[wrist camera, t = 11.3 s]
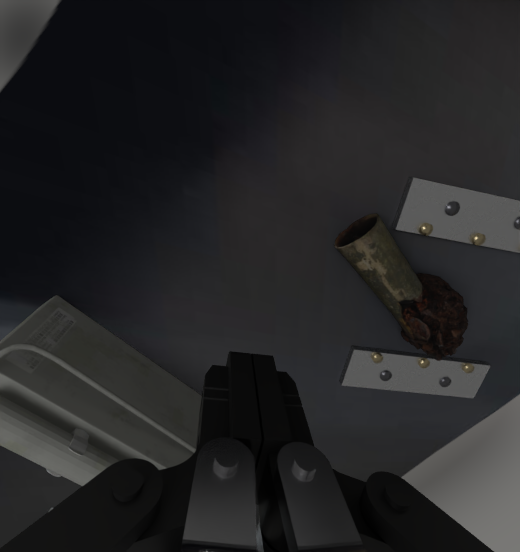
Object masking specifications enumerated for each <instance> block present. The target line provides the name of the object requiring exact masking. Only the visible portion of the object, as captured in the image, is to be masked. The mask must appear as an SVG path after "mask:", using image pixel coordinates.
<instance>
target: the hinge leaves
mask: <svg viewBox="0 0 520 552" xmlns="http://www.w3.org/2000/svg"><path fill="white" fill-rule="evenodd" d="M392 228H393V229H396V230H401V231H406V232H411V233H417V234H422V235H425V236H433V237H438V238H443V239H449V240H454V241H459V242H465V243H470V244H475V245H478V246H479V245H480V246H486V247H491V248H496V249H502V250H507V251H512V252H518V253H520V201H518V200H513V199H509V198H504V197H500V196H495V195H490V194H486V193H481V192H477V191H472V190H468V189H463V188H458V187H454V186H449V185H445V184H440V183H436V182H431V181H427V180H422V179H417V178H413V177H409V179H408V182H407V184H406V187H405V190H404V193H403V196H402V199H401V202H400V205H399V208H398V211H397V214H396V217H395V220H394V223H393V225H392ZM489 368H490V365H489V364H488V363H487V362H483V361H475V360H467V359H458V358H450V357H442V359H441V361H437V360H435V359H434V358H431V357H428V355H425V354H417V353H408V352H400V351H392V350H383V349H375V348H367V347H358V346H351V348H350V351H349V354H348V357H347V360H346V363H345V366H344V369H343V372H342V375H341V378H340V383H341V385H343V386H353V387H363V388H374V389H384V390H394V391H404V392H415V393H425V394H435V395H445V396H455V397H466V398H474V397H475V395H476V393H477V391H478V389H479V387H480V385H481V383H482V381H483V379H484V378H485V376H486V374H487V372H488V370H489Z"/></svg>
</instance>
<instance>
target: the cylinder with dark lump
mask: <svg viewBox="0 0 520 552" xmlns="http://www.w3.org/2000/svg"><path fill="white" fill-rule="evenodd" d="M334 246H335V248H336V249H338V251H339V252H340V253H341V254H342V255H343V256H344V257H345V258H346V259H347V261H348V262H349V263H350V264H351V265H352V267H353V268H354V269H355V270H356V271H357V272H358V274H359V275H360V276H361V277H362V278H363V279H364V281H365V282H366V283H367V284H368V285H369V287H370V288H371V289H372V290H373V291H374V293H375V294H376V295H377V296H378V297H379V299H380V300H381V301H382V302H383V304H384V305H385V306H386V307H387V308H388V310H389V311H390V312H391V313H392V315H393V316H394V317H395V319H396V320H397V321H398V323H399V324H400V325H401V328H402V331H401V335H402V337H403V339H405V340H406V341H407V342H410V343H411V344H412V345H414V346H415V347H416V348H417V349H420V348H421V349H422V350H423V351H424V352H426V353H427V355H428V357H431V358H434V359H435V360H437V361H441V359H442V357H445V355H449V354H450V355H452V354H455V353H456V348H457V347H458V346H460V345H461V344H462V342H463V339H464V338H463V337H462V335H463V334H464V332H465V330H466V329H467V326H468V323H467V322H468V320H467V308H466V307H465V306H464V305H463V297H462V296H461V295H460V294H459V293H458V292H456V291H455V290H454V289H452V288H451V287H450V286H449V284H448V283H446V282H445V281H444V280H442V279H441V278H440V277H437V276H433V275H429V274H422V273H420V274H415V273H414V271H413V269H412V268H411V266H410V265H409V263H408V261H407V260H406V258H405V257H404V255H403V254H402V252H401V251H400V249H399V248H398V246H397V244H396V243H395V241H394V239H393V237H392V236H391V234H390V232H389V231H388V229H387V228H386V226H385V225H384V223H383V221H382V220H381V218H380V217H379V215H378V214H370V215H367V216H365V217H363V218H361V219H359V220H357V221H355V222H354V223H352V224H351V225H350V226H349V227H348V228H347V229H346V230H344V231H343V232H342V233H340V234H339V236H338V237H337V238H336V240H335V245H334Z"/></svg>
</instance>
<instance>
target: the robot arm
mask: <svg viewBox="0 0 520 552" xmlns="http://www.w3.org/2000/svg"><path fill="white" fill-rule="evenodd" d="M256 504H257V505H259V516H260V519H259V522H258V526H257V530H256ZM256 540H257V547H258V552H494V551H492V550H491V549H490V548H489V547H487V546H486V545H485V544H484V543H482V542H481V541H480V540H479V539H477V538H476V537H475V536H474V535H472V534H471V533H470V532H469V531H467V530H466V529H465V528H464V527H462V526H461V525H460V524H459V523H457V522H456V521H455V520H454V519H452V518H451V517H450V516H449V515H448V514H446V513H445V512H444V511H442V510H441V509H440V508H438V507H437V506H436V505H435V504H434V503H433V502H431V501H430V500H429V499H428V498H426V497H425V496H424V495H423V494H421V493H420V492H419V491H418V490H416V489H415V488H414V487H413V486H411V485H410V484H409V483H408V482H406V481H405V480H404V479H402V478H400V477H399V476H397V475H394V474H392V473H389V472H375V473H373V474H372V475H371V476H370V477H369V478H368V480H367V482H363V481H361V480H358V479H355V478H352V477H350V476H347V475H344V474H342V473H339V472H337V471H336V470H334V469H332V467H331V465H330V463H329V461H328V459H327V458H326V456H325V455H324V454H323V453H322V452H321V451H319V450H318V449H317V448H315V447H314V444H313V440H312V437H311V434H310V430H309V427H308V424H307V420H306V417H305V414H304V410H303V407H302V404H301V400H300V397H299V393H298V390H297V387H296V383H295V382H294V381H293V379H292V378H291V377H290V376H289V375H288V373H287V372H279V371H277V370H276V366H275V362H274V358H273V356H269V355H260V354H250V353H240V352H231V351H230V352H229V354H228V359H227V364H226V366H217V365H212V367H211V368H210V369H209V371H208V372H207V373H206V375H205V380H204V386H203V393H202V399H201V405H200V411H199V421H198V432H197V442H196V451H195V452H194V454H193V455H192V456H191V457H190V458H189V459H187V460H186V461H184V462H183V463H181V464H179V465H176V466H173V467H169V468H166V469H162V470H158V468H157V467H156V466H155V465H154V464H152V463H151V462H149V461H147V460H144V459H138V458H130V459H124V460H121V461H118V462H116V463H114V464H112V465H110V466H109V467H107V468H106V469H105V470H103V471H102V472H101V473H99V474H98V475H97V476H95V477H94V478H93V479H91V480H90V481H89V482H87V483H86V484H85V485H84V486H82V487H81V488H80V489H78V490H77V491H76V492H74V493H73V494H72V495H70V496H69V497H68V498H66V499H65V500H64V501H62V502H61V503H60V504H58V505H57V506H56V507H54V508H53V509H52V510H50V511H49V512H48V513H46V514H45V515H44V516H43V517H41V518H40V519H39V520H37V521H36V522H35V523H33V524H32V525H31V526H29V527H28V528H27V529H25V530H24V531H23V532H21V533H20V534H19V535H17V536H16V537H15V538H13V539H12V540H11V541H9V542H8V543H7V544H5V545H4V546H3V547H2V548H0V552H256Z"/></svg>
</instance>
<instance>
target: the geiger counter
mask: <svg viewBox="0 0 520 552" xmlns="http://www.w3.org/2000/svg"><path fill="white" fill-rule="evenodd" d="M201 399H202V396H201V395H200V394H198V393H197V392H196V391H194V390H193V389H191V388H190V387H188V386H187V385H185V384H184V383H183V382H181V381H180V380H178V379H177V378H175V377H174V376H173V375H171V374H170V373H168V372H167V371H165V370H164V369H163V368H161V367H160V366H158V365H157V364H155V363H154V362H152V361H151V360H150V359H148V358H147V357H145V356H144V355H142V354H141V353H140V352H138V351H137V350H135V349H134V348H132V347H131V346H129V345H128V344H127V343H125V342H124V341H122V340H121V339H119V338H118V337H117V336H115V335H114V334H112V333H111V332H109V331H108V330H106V329H105V328H104V327H102V326H101V325H99V324H98V323H96V322H95V321H94V320H92V319H91V318H89V317H88V316H86V315H85V314H84V313H82V312H81V311H79V310H78V309H76V308H75V307H73V306H72V305H71V304H69V303H68V302H66V301H65V300H63V299H62V298H61V297H59V296H57V295H56V296H54V297H53V298H51V299H50V300H48V301H47V302H45V303H44V304H43V305H42V306H41V307H39V308H38V309H37V310H36V311H35V312H34V313H32V314H31V315H30V316H29V317H28V318H27V319H25V320H24V321H23V322H22V323H21V324H20V325H18V326H17V327H16V328H15V329H14V330H13V331H11V332H10V333H9V334H8V335H7V336H6V337H4V338H3V339H2V340H1V341H0V445H1V446H3V447H5V448H7V449H9V450H11V451H13V452H15V453H17V454H19V455H21V456H23V457H25V458H27V459H29V460H31V461H33V462H35V463H37V464H39V465H41V466H43V467H45V468H47V472H49V473H50V474H52V475H54V476H57V477H60V476H63V477H65V478H67V479H69V480H71V481H73V482H75V483H77V484H79V485H81V486H84V485H85V484H86V483H87V482H89V481H90V480H91V479H93V478H94V477H95V476H97V475H98V474H99V473H101V472H102V471H103V470H105V469H106V468H107V467H109V466H110V465H112V464H114V463H116V462H118V461H121V460H124V459H130V458H138V459H144V460H147V461H149V462H151V463H152V464H154V465H155V466H156V467H157V468H158V470H162V469H166V468H169V467H173V466H176V465H179V464H181V463H183V462H184V461H186V460H187V459H189V458H190V457H191V456H192V455H193V454H194V452H195V451H196V442H197V432H198V421H199V411H200V405H201Z"/></svg>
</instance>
